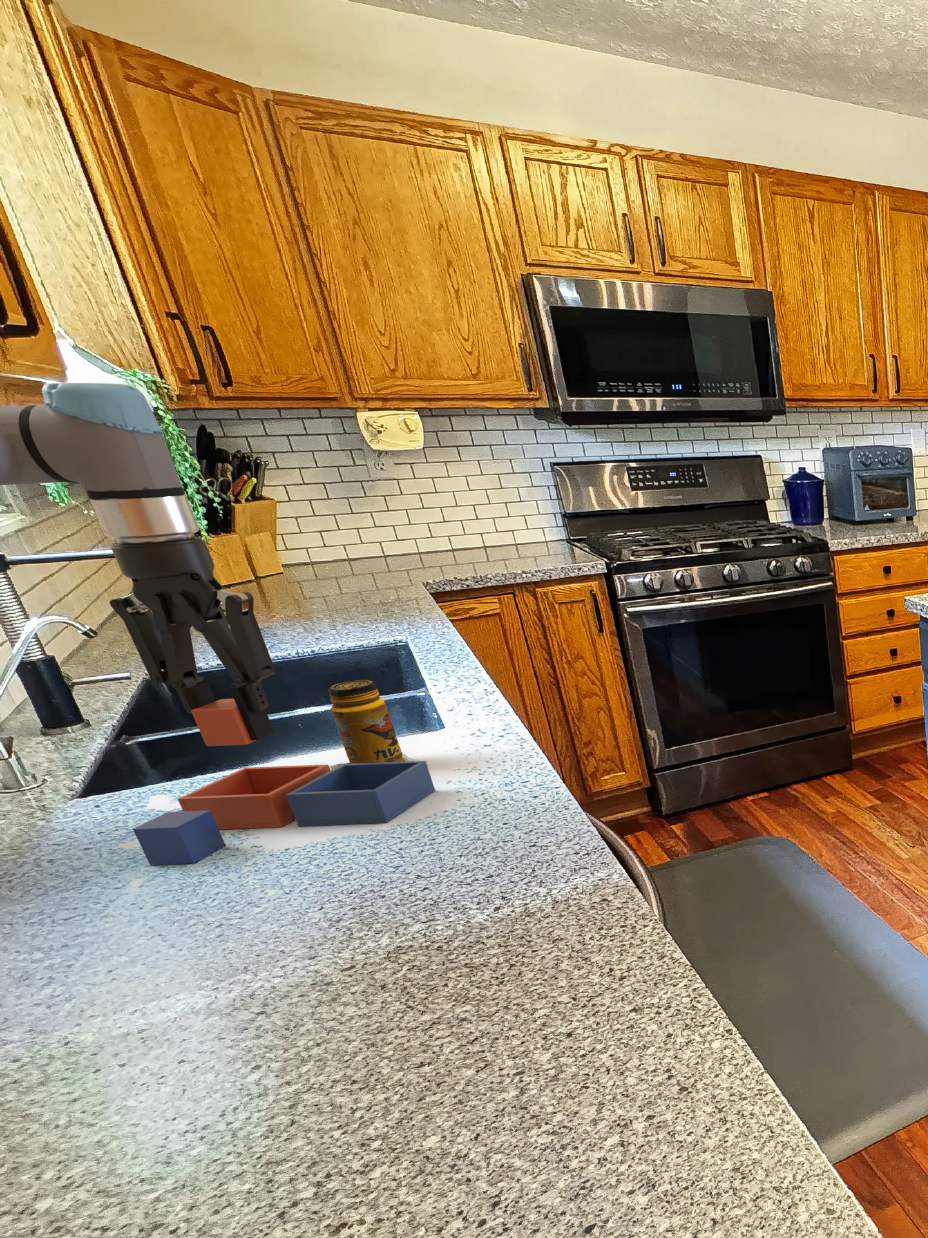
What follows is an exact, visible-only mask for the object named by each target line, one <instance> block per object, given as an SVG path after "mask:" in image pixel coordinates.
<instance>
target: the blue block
mask: <svg viewBox="0 0 928 1238" xmlns="http://www.w3.org/2000/svg"><path fill="white" fill-rule="evenodd" d="M132 830H133V834H134V835H135V838H136V839H137V841H138V844H139V845H140V848H141V849H142V851H143V854H144V856H145V858H146V861H147V862H148V864H149V866H171V865H189V864H190V863H192V865H193V864H195V863H197V862H199V861H201V860H202V859H204V858H206V857H208V856H209V855H211V854H213V853H215V852H217V851H218V850H221V849H222V848H224V847H226V846H227V844H226V842H225V840H224V838H223V836H222V834H221V833H222V832H220V831H221V830H219V829H218V827H217V824H216V822H215V820H214V818H213V815H212V813H211V811H210V810H206V811H183V810H182V811H167V812H165V813H163V814H161V815H159V816H157V817H155V818H152V819H150V820H148V821H146V822H144V823H142V824H140V825H138V826H136V827H134V828H132Z"/></svg>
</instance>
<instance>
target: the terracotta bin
mask: <svg viewBox="0 0 928 1238" xmlns="http://www.w3.org/2000/svg"><path fill="white" fill-rule="evenodd" d="M329 771H331V768H330V765H329V764H306V765H305V764H304V765H303V764H302V765H300V764H299V765H275V766H251V767H248V766H247V767H243V768H240V769H238V770H236V771H234V772H232V773H230V774H227V775H226V776H223V777H221V778H220V779H217V780H215V781H213V782H210V783H209V784H206V785H204V786H202V787H199V788H198V789H196V790H194V791H192V792H189V793H187V794H185V795H183V796H181V797H179V798H177V801H178V803H179V805H180V808H181V810H182V811H206V810H210V811H211V813H212V815H213V818H214V820H215V822H216V824H217V827H218V829H219V831H222V830H242V829H243V830H245V829H267V828H283V827H285V826H287V825H288V824H290V823H291V822H293V821H296V819H295V817H294V814H293V812H292V809H291V807H290V804H289V802H288V799H287V797H286V794H288V793H290V792H292V791H294V790H296V789H297V788H299V787H301V786H303V785H305V784H307V783H309V782H311V781H312V780H314V779H316V778H318V777H320V776H322V775H324V774H326V773H327V772H329Z"/></svg>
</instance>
